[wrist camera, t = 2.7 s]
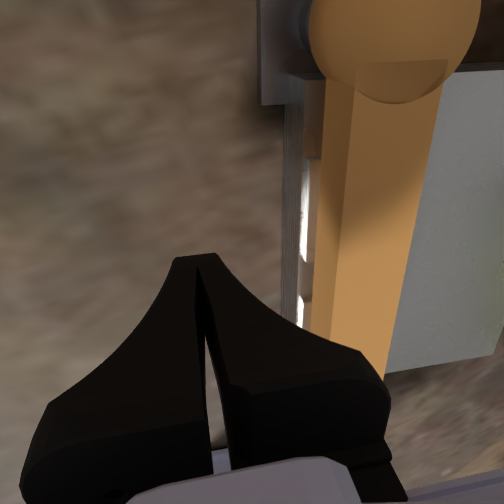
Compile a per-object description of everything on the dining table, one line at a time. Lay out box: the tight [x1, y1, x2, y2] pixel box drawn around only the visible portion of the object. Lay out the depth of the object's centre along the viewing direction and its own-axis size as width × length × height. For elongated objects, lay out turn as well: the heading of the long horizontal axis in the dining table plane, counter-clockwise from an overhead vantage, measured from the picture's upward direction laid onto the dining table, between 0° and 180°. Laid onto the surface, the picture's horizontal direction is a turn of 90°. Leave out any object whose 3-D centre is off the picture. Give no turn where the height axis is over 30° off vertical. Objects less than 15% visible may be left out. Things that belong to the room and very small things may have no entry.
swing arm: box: [309, 0, 481, 381], centre depth 13 cm, size 16×4×2 cm, turn 1°
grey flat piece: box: [257, 0, 321, 106], centre depth 12 cm, size 5×5×3 cm
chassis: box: [281, 61, 504, 374], centre depth 18 cm, size 14×11×3 cm
